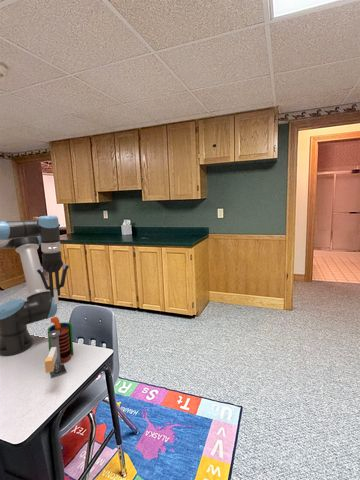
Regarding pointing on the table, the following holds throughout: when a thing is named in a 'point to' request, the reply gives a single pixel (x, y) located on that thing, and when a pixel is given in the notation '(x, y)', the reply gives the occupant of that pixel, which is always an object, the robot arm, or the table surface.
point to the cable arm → (51, 360)
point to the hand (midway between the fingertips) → (56, 303)
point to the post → (58, 367)
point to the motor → (62, 339)
